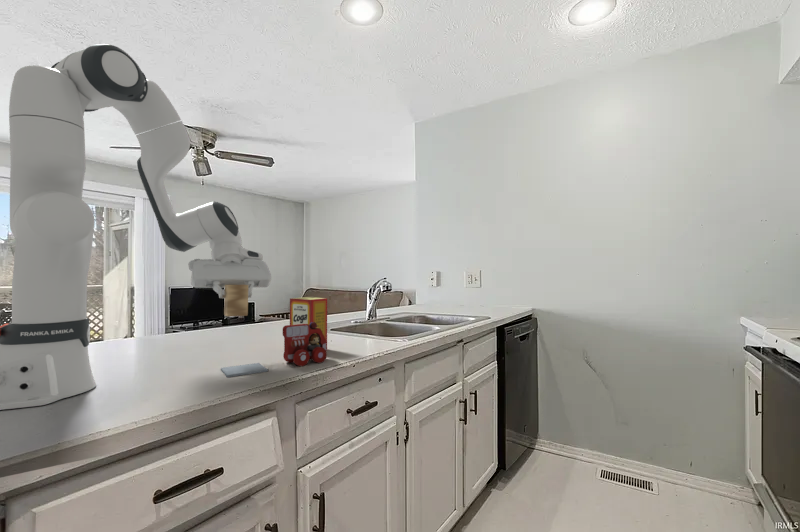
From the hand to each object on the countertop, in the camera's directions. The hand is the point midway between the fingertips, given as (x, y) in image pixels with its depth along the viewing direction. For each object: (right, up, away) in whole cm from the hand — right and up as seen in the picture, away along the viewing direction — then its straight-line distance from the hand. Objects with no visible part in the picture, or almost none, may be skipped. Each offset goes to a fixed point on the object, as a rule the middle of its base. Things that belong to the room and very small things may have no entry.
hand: (236, 296), depth 102 cm
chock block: (0, -5, 0) cm, 5 cm away
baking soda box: (+15, -18, +17) cm, 29 cm away
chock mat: (+6, -17, -9) cm, 20 cm away
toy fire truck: (+18, -18, 0) cm, 25 cm away
